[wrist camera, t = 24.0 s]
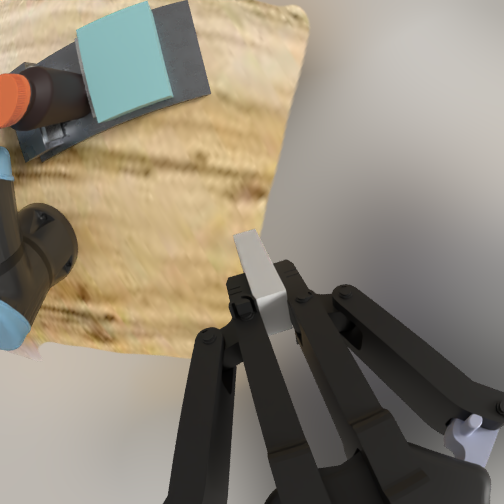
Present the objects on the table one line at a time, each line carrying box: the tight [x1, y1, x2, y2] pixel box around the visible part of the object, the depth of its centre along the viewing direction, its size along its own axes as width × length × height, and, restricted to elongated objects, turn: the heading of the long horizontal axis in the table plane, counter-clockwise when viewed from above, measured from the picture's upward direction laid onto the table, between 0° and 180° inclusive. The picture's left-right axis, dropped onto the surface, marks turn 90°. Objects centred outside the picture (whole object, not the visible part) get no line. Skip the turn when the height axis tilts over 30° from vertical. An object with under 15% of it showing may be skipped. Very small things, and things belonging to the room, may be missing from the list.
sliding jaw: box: [75, 1, 173, 123], centre depth 26 cm, size 10×14×6 cm
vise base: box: [9, 0, 211, 162], centre depth 27 cm, size 28×16×8 cm, turn 102°
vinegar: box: [0, 66, 91, 131], centre depth 20 cm, size 7×7×20 cm
